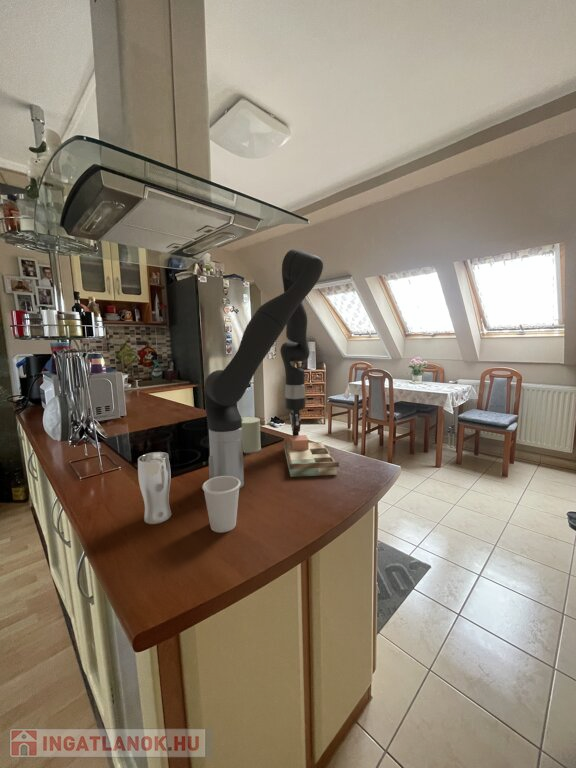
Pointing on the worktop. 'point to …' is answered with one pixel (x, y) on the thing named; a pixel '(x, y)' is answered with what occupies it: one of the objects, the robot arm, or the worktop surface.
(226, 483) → the dixie cup
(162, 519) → the beer glass
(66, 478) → the worktop surface
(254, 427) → the can
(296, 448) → the salmon pink square block
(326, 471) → the board
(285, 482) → the worktop surface
